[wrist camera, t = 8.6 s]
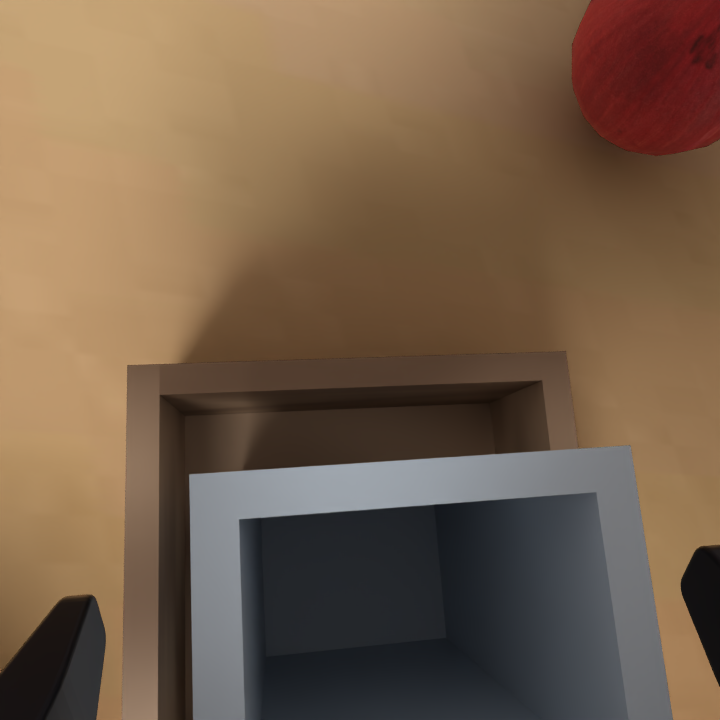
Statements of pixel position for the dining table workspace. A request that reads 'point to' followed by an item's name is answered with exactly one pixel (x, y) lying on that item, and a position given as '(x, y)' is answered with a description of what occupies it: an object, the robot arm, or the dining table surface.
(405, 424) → the big crate
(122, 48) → the dining table surface
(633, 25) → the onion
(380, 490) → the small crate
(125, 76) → the dining table surface
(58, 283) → the dining table surface
